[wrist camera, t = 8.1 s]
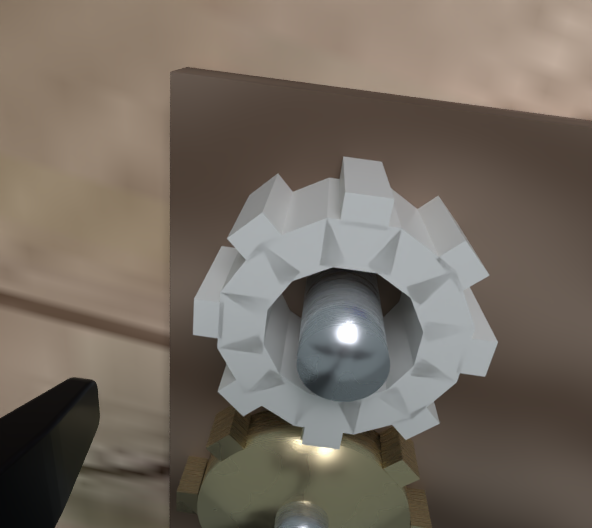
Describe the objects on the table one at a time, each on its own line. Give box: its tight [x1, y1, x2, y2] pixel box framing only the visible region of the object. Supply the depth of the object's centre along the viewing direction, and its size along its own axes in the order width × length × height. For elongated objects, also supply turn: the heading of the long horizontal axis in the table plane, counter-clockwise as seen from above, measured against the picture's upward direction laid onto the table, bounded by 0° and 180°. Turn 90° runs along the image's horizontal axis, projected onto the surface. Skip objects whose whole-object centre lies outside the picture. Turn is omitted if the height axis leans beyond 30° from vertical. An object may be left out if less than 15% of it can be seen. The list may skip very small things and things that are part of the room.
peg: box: [297, 267, 390, 402], centre depth 12 cm, size 2×2×4 cm
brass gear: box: [176, 405, 432, 528], centre depth 16 cm, size 9×9×3 cm
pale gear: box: [193, 156, 498, 450], centre depth 13 cm, size 7×7×3 cm
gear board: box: [170, 67, 592, 528], centre depth 16 cm, size 18×21×2 cm
